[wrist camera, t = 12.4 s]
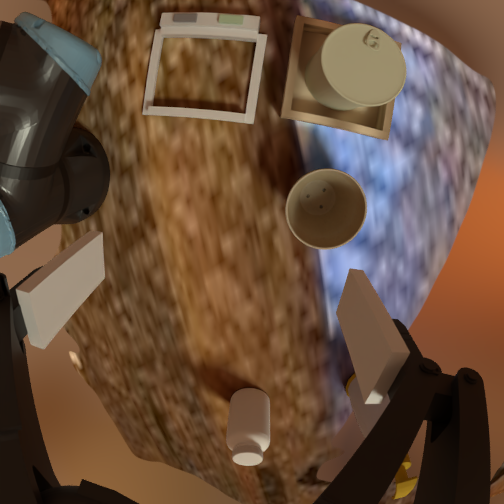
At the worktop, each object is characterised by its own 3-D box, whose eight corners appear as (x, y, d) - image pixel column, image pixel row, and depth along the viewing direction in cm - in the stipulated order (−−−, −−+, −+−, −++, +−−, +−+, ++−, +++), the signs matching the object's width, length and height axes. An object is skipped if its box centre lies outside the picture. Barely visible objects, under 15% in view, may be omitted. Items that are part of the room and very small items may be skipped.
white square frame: (144, 114, 39) (135, 114, 36) (159, 18, 33) (152, 11, 30) (253, 124, 39) (252, 123, 36) (269, 23, 34) (269, 16, 31)
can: (378, 62, 34) (417, 45, 23) (361, 121, 38) (396, 121, 27) (315, 37, 33) (334, 7, 22) (296, 97, 37) (309, 86, 26)
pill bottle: (277, 395, 58) (279, 456, 44) (256, 414, 61) (254, 472, 47) (242, 381, 57) (237, 444, 43) (224, 402, 60) (215, 461, 46)
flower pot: (306, 243, 46) (312, 264, 39) (268, 186, 43) (268, 198, 36) (363, 208, 43) (380, 223, 37) (329, 148, 40) (341, 152, 34)
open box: (279, 117, 39) (281, 116, 35) (294, 24, 33) (296, 15, 30) (378, 138, 39) (388, 140, 36) (391, 48, 34) (401, 43, 30)
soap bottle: (343, 403, 59) (364, 510, 35) (346, 366, 55) (377, 486, 31) (392, 394, 58) (426, 493, 34) (400, 356, 54) (448, 465, 30)
